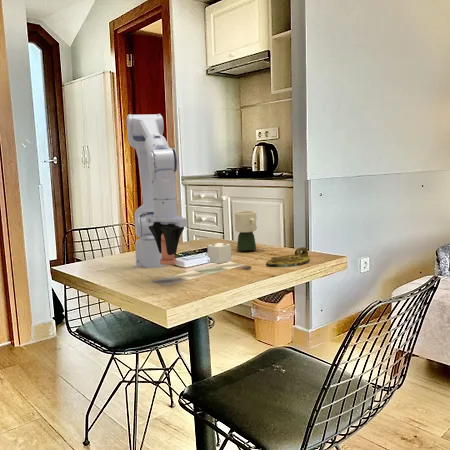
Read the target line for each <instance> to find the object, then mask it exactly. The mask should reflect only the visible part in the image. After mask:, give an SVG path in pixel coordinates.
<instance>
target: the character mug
mask: <svg viewBox="0 0 450 450" xmlns="http://www.w3.org/2000/svg"><path fill="white" fill-rule="evenodd" d="M257 228H258V226H257V211H256V210H240V211H235V212H234V230H235V232H237V233H238V236H237V246H236V247H237V248H236V249H237V251H247V252H250V251H255V250H257V245H256V244H257V243H256V238H255V235H254V232H255V231H256V230H257Z"/></svg>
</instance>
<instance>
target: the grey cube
mask: <svg viewBox="0 0 450 450" xmlns="http://www.w3.org/2000/svg"><path fill="white" fill-rule="evenodd" d="M206 247H207V258H208V257H209V258H210V263H214V264H215V263H216V264H218V263H222V262H232V244H229V243H222V242H218V243H212V244H207V246H206Z"/></svg>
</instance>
